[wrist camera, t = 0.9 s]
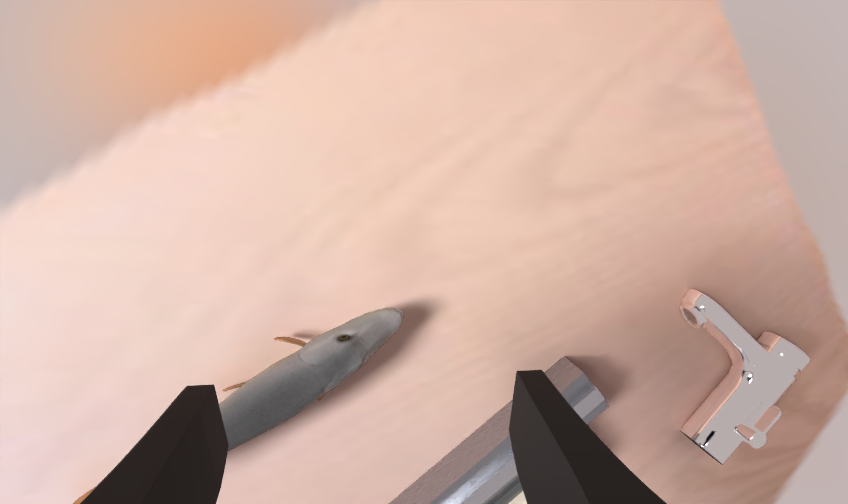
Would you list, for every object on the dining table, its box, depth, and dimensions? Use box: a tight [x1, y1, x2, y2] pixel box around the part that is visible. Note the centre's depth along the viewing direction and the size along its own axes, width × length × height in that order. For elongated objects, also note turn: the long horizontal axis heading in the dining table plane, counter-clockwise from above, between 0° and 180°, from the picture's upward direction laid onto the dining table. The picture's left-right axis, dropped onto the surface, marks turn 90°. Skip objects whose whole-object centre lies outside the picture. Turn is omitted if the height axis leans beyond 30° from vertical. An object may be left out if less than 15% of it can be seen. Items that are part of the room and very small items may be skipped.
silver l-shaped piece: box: [680, 289, 811, 465], centre depth 35 cm, size 10×4×9 cm
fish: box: [73, 308, 404, 504], centre depth 28 cm, size 4×21×5 cm, turn 120°
